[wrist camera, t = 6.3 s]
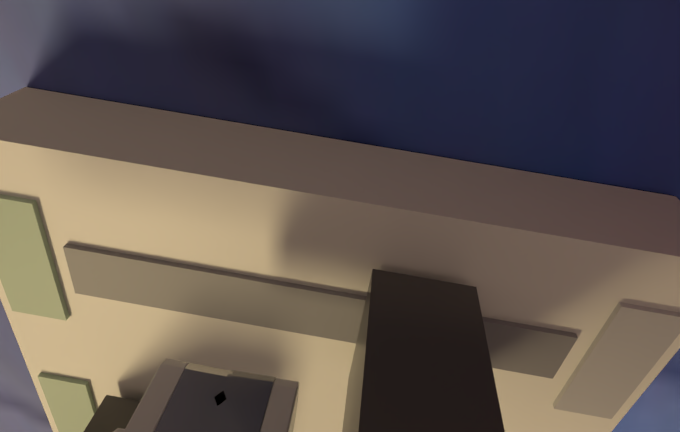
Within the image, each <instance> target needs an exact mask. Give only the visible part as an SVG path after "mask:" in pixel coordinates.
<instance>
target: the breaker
mask: <svg viewBox="0 0 680 432" xmlns="http://www.w3.org/2000/svg"><path fill="white" fill-rule="evenodd" d="M139 403H140V401H138V400H132V399H127V398H121V397H116V396H110V395H106V396H105V398H104V399H103V401H102V403H101V404H100V406H99V407H98V409H97V411H96V412H95V414H94V416H93V417H92V419H91V420H90V422H89V424H88V425H87V427H86V428H85V430H84V432H113V431H114V430H116V429H117V428H121V429H125V428H126V426H127V425H128V423H129V421H130V419H131V417H132V415H133V414H134V412H135V410H136V408H137V406H138V404H139Z"/></svg>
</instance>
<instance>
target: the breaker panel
mask: <svg viewBox="0 0 680 432" xmlns="http://www.w3.org/2000/svg"><path fill="white" fill-rule="evenodd" d="M372 269H377V270H383V271H389V272H394V273H400V274H406V275H411V276H417V277H423V278H429V279H434V280H440V281H446V282H451V283H457V284H463V285H469V286H474V287H476V288H477V293H478V298H479V303H480V308H481V313H482V318H483V323H484V329H485V334H486V339H487V344H488V349H489V354H490V359H491V364H492V369H493V374H494V379H495V385H496V390H497V395H498V400H499V405H500V410H501V415H502V420H503V425H504V430H505V432H611V431H612V430H613V429H614V428H615V426H616V425H617V424H618V423H619V421H620V420H621V419H622V418H623V417H624V415H625V414H626V413H627V412H628V410H629V409H630V408H631V407H632V406H633V404H634V403H635V402H636V401H637V399H638V398H639V397H640V396H641V395H642V393H643V392H644V391H645V390H646V388H647V387H648V386H649V385H650V384H651V382H652V381H653V380H654V379H655V378H656V376H657V375H658V374H659V373H660V371H661V370H662V369H663V368H664V367H665V365H666V364H667V363H668V362H669V360H670V359H671V358H672V357H673V356H674V354H675V353H676V352H677V351H678V349H679V348H680V200H679V199H678V198H677V197H676V196H670V195H665V194H659V193H653V192H647V191H641V190H635V189H629V188H623V187H617V186H611V185H605V184H599V183H593V182H587V181H581V180H575V179H569V178H563V177H558V176H552V175H546V174H540V173H534V172H528V171H522V170H516V169H510V168H504V167H498V166H492V165H486V164H480V163H474V162H468V161H462V160H456V159H451V158H445V157H439V156H433V155H427V154H421V153H415V152H409V151H403V150H397V149H391V148H385V147H379V146H373V145H367V144H361V143H355V142H350V141H344V140H338V139H332V138H326V137H320V136H314V135H308V134H302V133H296V132H290V131H284V130H278V129H272V128H266V127H260V126H254V125H248V124H243V123H237V122H231V121H225V120H219V119H213V118H207V117H201V116H195V115H189V114H183V113H177V112H171V111H165V110H159V109H153V108H147V107H142V106H136V105H130V104H124V103H118V102H112V101H106V100H100V99H94V98H88V97H82V96H76V95H70V94H64V93H58V92H52V91H46V90H40V89H35V88H29V87H24V88H22V89H20V90H17V91H15V92H13V93H11V94H9V95H7V96H4V97H2V98H0V299H1V301H2V304H3V306H4V309H5V311H6V314H7V316H8V319H9V321H10V324H11V327H12V329H13V332H14V334H15V337H16V339H17V342H18V344H19V347H20V349H21V352H22V354H23V357H24V359H25V362H26V364H27V367H28V369H29V372H30V375H31V377H32V380H33V382H34V385H35V387H36V390H37V392H38V395H39V397H40V400H41V402H42V405H43V407H44V410H45V412H46V415H47V417H48V420H49V423H50V425H51V428H52V430H53V432H84V430H85V428H86V427H87V425H88V424H89V422H90V420H91V419H92V417H93V416H94V414H95V412H96V411H97V409H98V407H99V406H100V404H101V403H102V401H103V399H104V398H105V396H106V395H110V396H116V397H121V398H127V399H132V400H138V401H141V399H142V397H143V395H144V393H145V392H146V390H147V388H148V386H149V384H150V382H151V381H152V379H153V377H154V375H155V373H156V371H157V370H158V368H159V366H160V365H161V363H162V362H163V361H164V360H165V359H166V358H168V359H173V360H179V361H185V362H190V363H194V364H199V365H204V366H210V367H215V368H220V369H225V370H234V371H241V372H247V373H253V374H259V375H266V376H272V377H276V378H278V379H285V380H292V381H298V382H300V386H299V394H298V402H297V410H296V417H295V424H294V430H293V432H342V429H343V420H344V412H345V403H346V395H347V386H348V378H349V373H350V369H351V364H352V360H353V355H354V351H355V346H356V342H357V337H358V333H359V328H360V323H361V319H362V314H363V310H364V305H365V301H366V296H367V292H368V287H369V283H370V278H371V274H372Z"/></svg>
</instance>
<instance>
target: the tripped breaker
mask: <svg viewBox="0 0 680 432" xmlns="http://www.w3.org/2000/svg"><path fill="white" fill-rule="evenodd" d="M342 432H505V430H504V425H503V420H502V415H501V410H500V405H499V400H498V395H497V390H496V385H495V379H494V374H493V369H492V364H491V359H490V354H489V349H488V344H487V339H486V334H485V329H484V323H483V318H482V313H481V308H480V303H479V298H478V293H477V288H476V287H474V286H469V285H463V284H457V283H451V282H446V281H440V280H434V279H429V278H423V277H417V276H411V275H406V274H400V273H394V272H389V271H383V270H377V269H372V274H371V278H370V283H369V287H368V292H367V296H366V301H365V305H364V310H363V314H362V319H361V323H360V328H359V333H358V337H357V342H356V346H355V351H354V355H353V360H352V364H351V369H350V373H349V378H348V386H347V395H346V403H345V412H344V420H343V429H342Z"/></svg>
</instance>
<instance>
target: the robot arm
mask: <svg viewBox="0 0 680 432" xmlns="http://www.w3.org/2000/svg"><path fill="white" fill-rule="evenodd" d="M299 386H300V382H298V381H292V380H285V379H278V378H276V377H272V376H266V375H259V374H253V373H247V372H241V371H234V370H225V369H220V368H215V367H210V366H204V365H199V364H194V363H190V362H185V361H179V360H173V359H168V358H166V359H165V360H164V361H163V362H162V363H161V365H160V366H159V368H158V370H157V371H156V373H155V375H154V377H153V379H152V381H151V382H150V384H149V386H148V388H147V390H146V392H145V393H144V395H143V397H142V399H141V401H140V403H139V404H138V406H137V408H136V410H135V412H134V414H133V415H132V417H131V419H130V421H129V423H128V425H127V426H126V428H125V429H121V428H117V429H116V430H114V431H113V432H293V430H294V424H295V417H296V410H297V402H298V394H299Z"/></svg>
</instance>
